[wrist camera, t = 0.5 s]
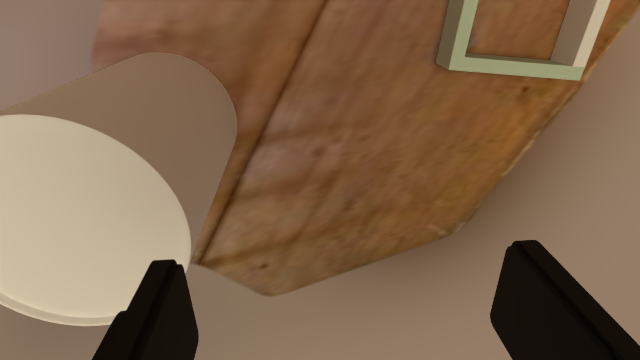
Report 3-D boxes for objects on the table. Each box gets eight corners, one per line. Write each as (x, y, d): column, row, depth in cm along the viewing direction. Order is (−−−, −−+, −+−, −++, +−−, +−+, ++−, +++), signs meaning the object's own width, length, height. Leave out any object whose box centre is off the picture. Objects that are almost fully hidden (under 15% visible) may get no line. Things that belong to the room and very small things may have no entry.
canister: (83, 148, 39) (-93, 281, 21) (120, 24, 34) (-67, 61, 16) (208, 199, 43) (148, 350, 25) (258, 93, 38) (228, 186, 20)
